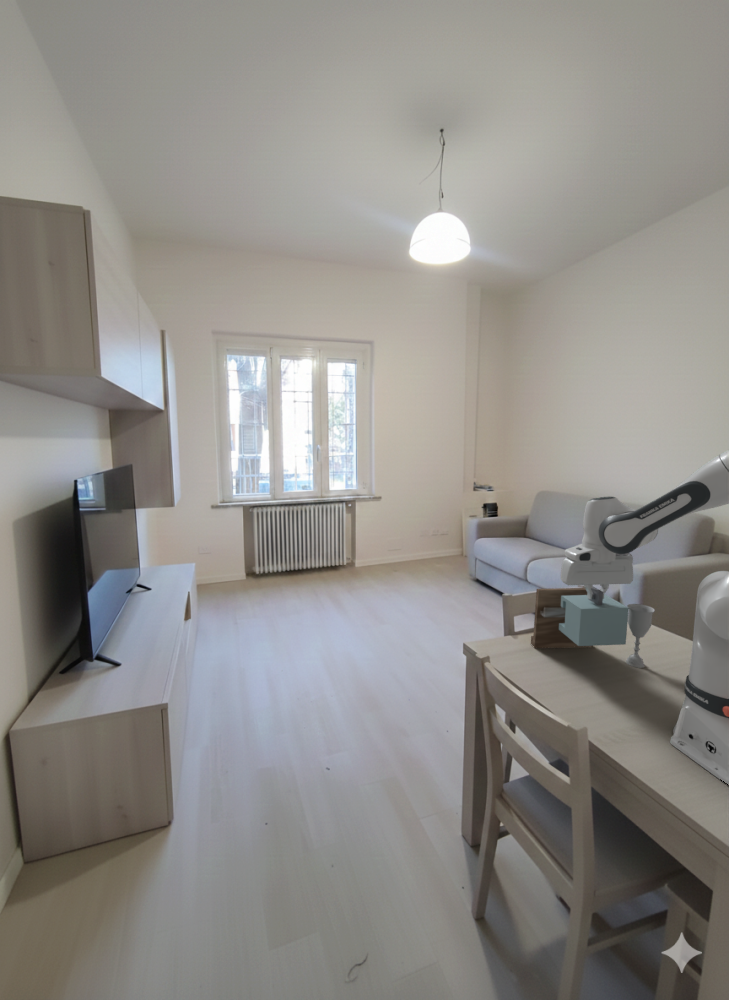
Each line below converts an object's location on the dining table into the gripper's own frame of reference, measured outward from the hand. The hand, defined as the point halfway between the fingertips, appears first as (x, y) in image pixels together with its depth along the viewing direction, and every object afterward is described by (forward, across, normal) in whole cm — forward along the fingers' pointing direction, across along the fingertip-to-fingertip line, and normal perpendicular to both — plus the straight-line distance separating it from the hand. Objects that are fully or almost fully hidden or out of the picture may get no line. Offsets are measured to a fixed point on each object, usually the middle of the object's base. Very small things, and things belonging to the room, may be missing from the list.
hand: (595, 598), depth 130 cm
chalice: (+23, -16, -4) cm, 29 cm away
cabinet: (+12, 0, -1) cm, 12 cm away
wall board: (+22, 0, -15) cm, 27 cm away
